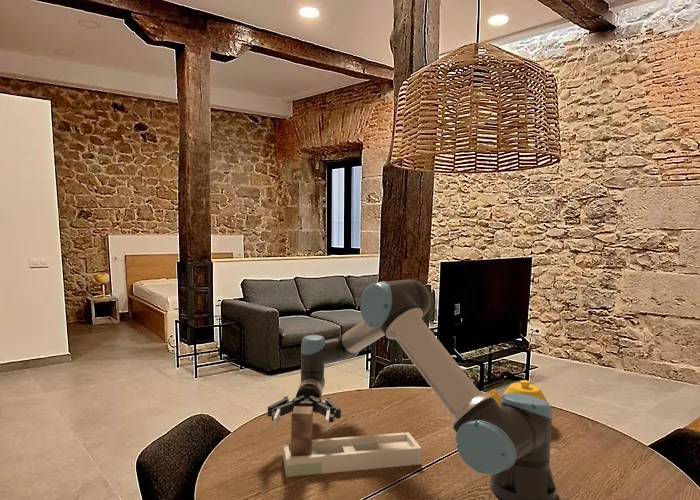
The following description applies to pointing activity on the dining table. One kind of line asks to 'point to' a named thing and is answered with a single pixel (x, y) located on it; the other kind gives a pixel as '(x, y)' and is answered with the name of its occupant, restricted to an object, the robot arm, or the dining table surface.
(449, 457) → the dining table surface
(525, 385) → the teapot
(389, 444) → the tray
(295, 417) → the walnut block
